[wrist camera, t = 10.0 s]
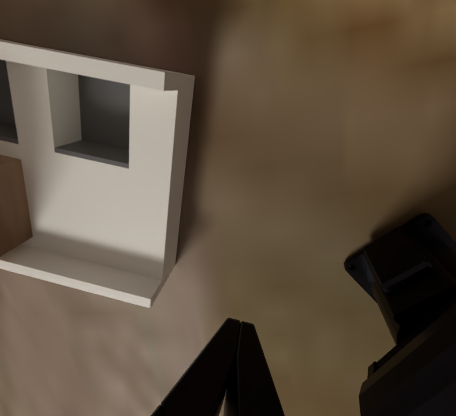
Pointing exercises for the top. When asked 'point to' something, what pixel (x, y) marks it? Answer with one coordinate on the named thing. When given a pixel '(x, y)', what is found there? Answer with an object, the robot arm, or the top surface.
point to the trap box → (96, 168)
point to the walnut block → (13, 205)
